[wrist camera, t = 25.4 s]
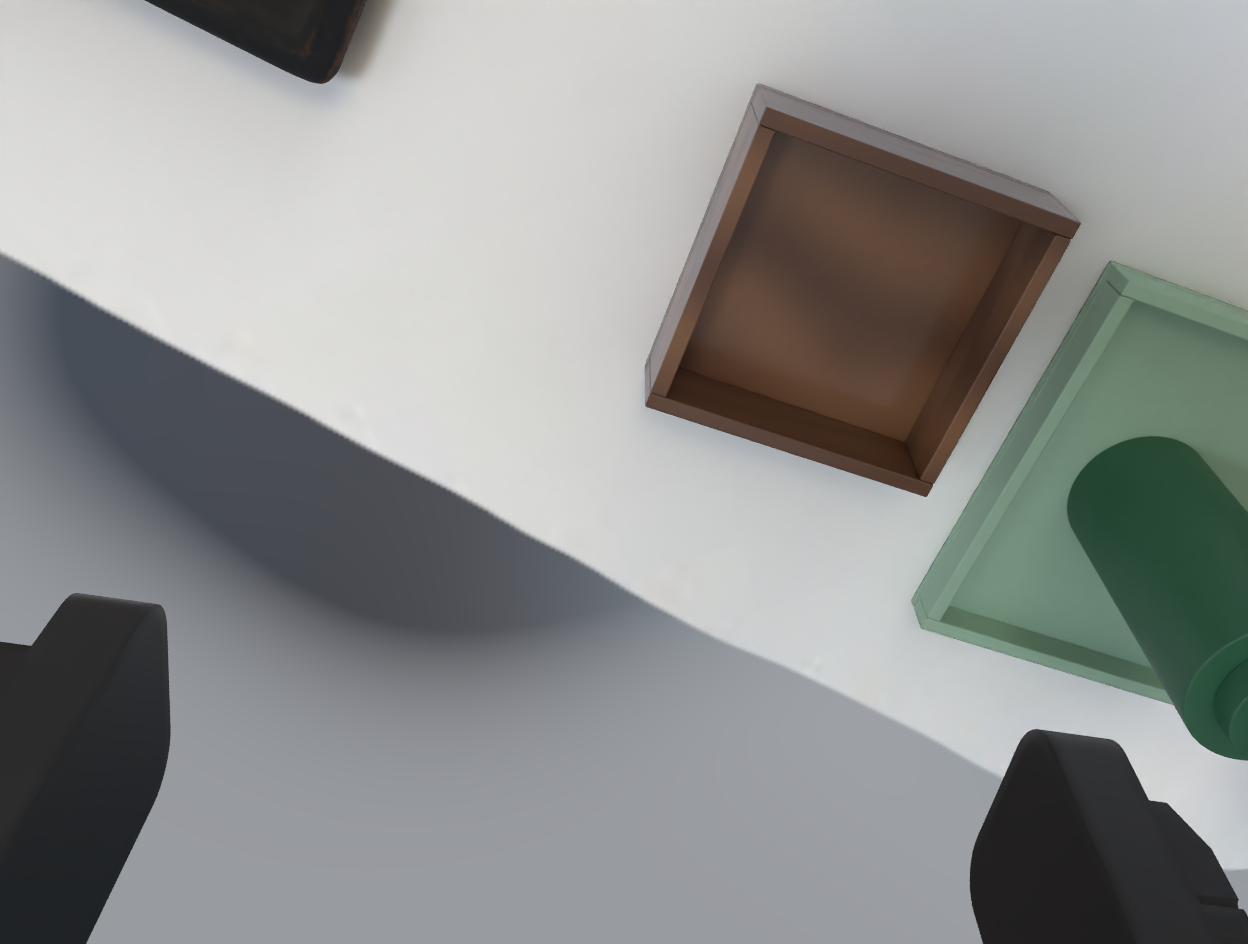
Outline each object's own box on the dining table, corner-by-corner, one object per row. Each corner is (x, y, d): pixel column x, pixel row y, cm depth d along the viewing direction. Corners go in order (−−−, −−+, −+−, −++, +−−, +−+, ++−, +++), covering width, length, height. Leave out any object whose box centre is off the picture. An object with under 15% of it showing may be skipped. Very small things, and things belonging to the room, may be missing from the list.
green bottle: (1113, 417, 46) (1329, 704, 31) (1238, 461, 47) (1503, 760, 32) (1040, 531, 48) (1208, 845, 34) (1159, 571, 49) (1373, 892, 35)
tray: (1109, 260, 43) (1129, 279, 41) (1392, 363, 45) (1422, 386, 43) (910, 600, 51) (920, 628, 49) (1159, 676, 53) (1176, 706, 51)
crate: (756, 82, 40) (765, 106, 37) (1050, 192, 42) (1081, 223, 39) (644, 366, 45) (644, 406, 42) (908, 452, 47) (926, 498, 44)
